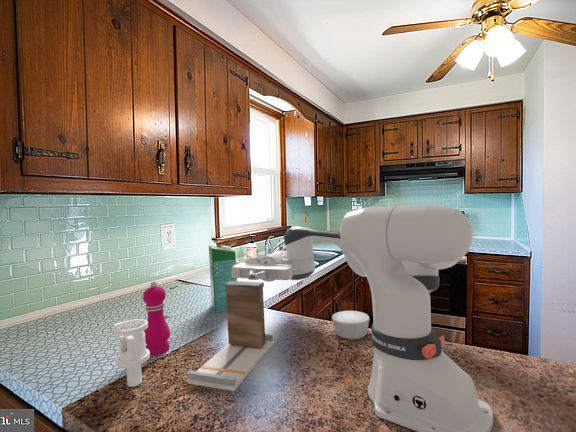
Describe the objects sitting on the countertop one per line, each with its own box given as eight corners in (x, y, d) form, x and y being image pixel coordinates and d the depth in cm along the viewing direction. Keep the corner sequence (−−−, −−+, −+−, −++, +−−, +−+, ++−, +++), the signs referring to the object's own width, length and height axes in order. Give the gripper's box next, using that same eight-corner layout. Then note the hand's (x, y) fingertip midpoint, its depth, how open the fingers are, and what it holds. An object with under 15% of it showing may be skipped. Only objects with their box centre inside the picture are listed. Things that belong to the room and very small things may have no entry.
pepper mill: (161, 357, 85) (157, 284, 84) (138, 355, 86) (133, 284, 85) (176, 345, 92) (172, 278, 91) (154, 344, 93) (150, 278, 92)
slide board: (236, 339, 94) (236, 331, 94) (273, 343, 90) (273, 334, 90) (187, 383, 71) (187, 372, 71) (234, 391, 68) (233, 380, 67)
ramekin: (326, 330, 98) (325, 313, 98) (356, 323, 102) (355, 308, 102) (344, 344, 88) (344, 326, 88) (377, 336, 92) (376, 319, 92)
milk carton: (238, 308, 122) (235, 245, 121) (215, 312, 119) (211, 247, 118) (233, 302, 130) (230, 243, 129) (211, 305, 127) (208, 245, 126)
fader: (233, 339, 91) (230, 280, 90) (266, 342, 87) (263, 282, 87) (227, 344, 87) (224, 284, 87) (261, 348, 84) (258, 285, 83)
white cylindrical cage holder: (113, 383, 73) (109, 320, 72) (144, 371, 78) (141, 312, 77) (123, 396, 68) (118, 328, 67) (155, 382, 72) (152, 319, 72)
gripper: (299, 278, 103) (285, 289, 90) (243, 275, 109) (223, 285, 96) (298, 259, 103) (284, 267, 89) (242, 258, 109) (222, 265, 96)
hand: (252, 277), depth 93 cm, fingers closed
